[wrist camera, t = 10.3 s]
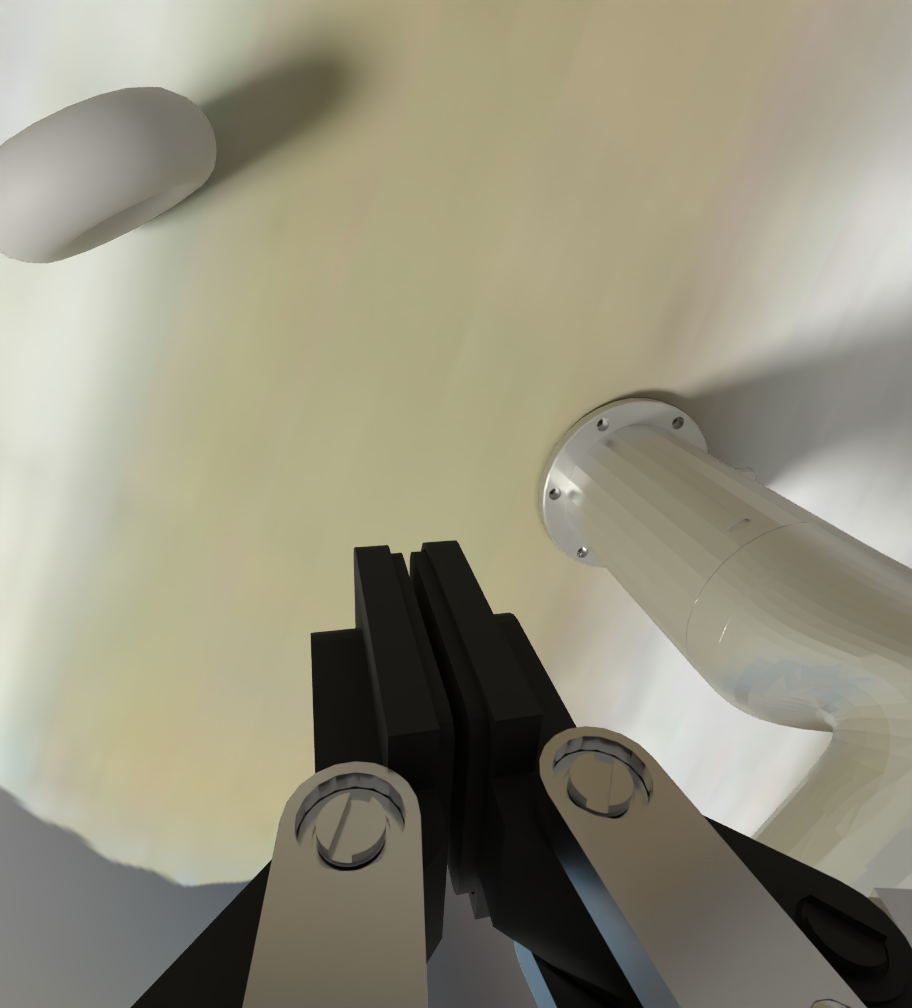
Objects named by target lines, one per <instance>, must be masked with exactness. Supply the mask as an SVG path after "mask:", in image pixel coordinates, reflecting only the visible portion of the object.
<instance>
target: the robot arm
mask: <svg viewBox="0 0 912 1008" xmlns="http://www.w3.org/2000/svg"><path fill="white" fill-rule="evenodd" d="M599 421H600V422H599ZM598 422H599V423H598ZM552 489H553V490H552ZM551 490H552V491H551ZM539 510H540V514H541V518H542V522H543V525H544V526H545V528H546V530H547V532H548V534H549V536H550V537H551V539H552V540H553V541H554V542H555V544H556V545H557V546H558V547H559V548H560V549H561V550H562V551H563V552H564V553H565V554H566V555H567V556H569V557H571V558H572V559H574V560H575V561H577V562H580V563H583V564H586V565H590V566H594V567H605V568H607V570H608V571H609V572H610V573H611V574H612V575H613V576H614V578H615V579H616V580H617V581H618V582H619V583H620V584H621V585H622V587H623V588H624V589H625V590H626V591H627V592H628V593H629V595H630V596H631V597H632V598H633V599H634V600H635V601H636V602H637V604H638V605H639V606H640V607H641V608H642V609H643V610H644V612H645V613H646V614H647V615H648V616H649V617H650V618H651V620H652V621H653V622H654V623H655V624H656V625H657V626H658V627H659V629H660V630H661V631H662V632H663V633H664V634H665V635H666V637H667V638H668V639H669V640H670V641H671V642H672V643H673V644H674V646H675V647H676V648H677V649H678V650H679V651H680V652H681V654H682V655H683V656H684V657H685V658H686V659H687V660H688V661H689V663H690V664H691V665H692V666H693V667H694V668H695V669H696V670H697V672H698V673H699V674H700V675H701V676H702V677H703V678H704V679H705V681H706V682H707V683H708V684H709V685H710V686H711V687H712V688H713V689H714V690H715V691H716V692H717V693H718V694H719V695H720V696H721V697H722V698H723V699H725V700H726V701H727V702H729V703H730V704H731V705H733V706H734V707H736V708H738V709H739V710H741V711H743V712H745V713H747V714H749V715H751V716H753V717H755V718H758V719H761V720H764V721H768V722H771V723H774V724H778V725H783V726H788V727H794V728H800V729H807V730H816V731H825V732H833V736H832V740H831V742H830V744H829V746H828V747H827V749H826V750H825V751H824V752H823V754H822V755H821V756H820V757H819V759H818V760H817V761H816V762H815V764H814V765H813V766H812V767H811V768H810V770H809V773H808V774H807V775H806V777H805V778H804V779H803V780H802V781H801V782H800V783H799V784H798V785H797V787H796V788H795V789H794V790H793V791H792V792H791V793H790V794H789V795H788V797H787V798H786V799H785V800H784V801H783V802H782V803H781V804H780V806H779V807H778V808H777V809H776V810H775V811H774V812H773V813H772V814H771V816H770V817H769V818H768V819H767V820H766V821H765V822H764V823H763V824H762V826H761V827H760V828H759V829H758V830H757V831H756V832H755V833H754V834H753V836H752V837H751V838H750V837H748V836H745V835H743V834H741V833H739V832H737V831H735V830H733V829H731V828H729V827H727V826H724V825H722V824H720V823H718V822H716V821H714V820H712V819H710V818H708V817H706V816H703V815H702V814H701V813H700V812H699V811H698V809H697V808H696V807H695V806H694V805H693V803H692V802H691V801H690V800H689V799H688V798H687V796H686V795H685V794H684V793H683V792H682V791H681V789H680V788H679V787H678V786H677V785H676V784H675V782H674V781H673V780H672V779H671V778H670V777H669V775H668V774H667V773H666V772H665V771H664V770H663V768H662V767H661V766H660V765H659V764H658V762H657V761H656V760H655V759H654V758H653V757H652V756H651V755H650V754H649V753H648V752H647V751H646V750H645V749H644V748H642V747H641V746H640V745H639V744H638V743H636V742H634V741H633V740H631V739H629V738H627V737H626V736H624V735H622V734H620V733H617V732H614V731H611V730H608V729H604V728H597V727H587V726H584V727H578V728H577V727H576V725H575V724H574V722H573V720H572V718H571V716H570V714H569V713H568V711H567V709H566V707H565V705H564V703H563V702H562V700H561V698H560V696H559V694H558V693H557V691H556V689H555V687H554V685H553V683H552V682H551V680H550V678H549V676H548V674H547V672H546V671H545V669H544V667H543V665H542V663H541V662H540V660H539V658H538V656H537V654H536V652H535V651H534V649H533V647H532V645H531V643H530V641H529V640H528V638H527V636H526V634H525V632H524V630H523V629H522V627H521V625H520V623H519V621H518V620H517V618H516V617H515V616H514V614H511V613H502V614H493V612H492V610H491V608H490V606H489V604H488V602H487V600H486V598H485V596H484V594H483V592H482V590H481V588H480V586H479V584H478V582H477V580H476V578H475V576H474V574H473V572H472V570H471V568H470V566H469V564H468V562H467V560H466V558H465V556H464V554H463V552H462V550H461V547H460V545H459V543H458V542H457V541H455V540H454V541H440V542H426V543H423V544H422V549H421V552H411V555H410V577H409V574H408V570H407V567H406V564H405V561H404V558H403V555H402V553H394V554H391V552H390V549H389V546H388V545H383V546H369V547H355V548H354V584H355V623H356V628H355V629H345V630H335V631H326V632H316V633H311V657H312V687H313V718H314V749H315V774H314V775H313V776H311V777H310V778H309V779H307V780H306V781H305V782H303V783H302V784H301V785H299V787H298V788H297V789H296V791H295V792H294V793H293V795H292V796H291V797H290V798H289V800H288V801H287V803H286V805H285V808H284V811H283V813H282V816H281V819H280V822H279V827H278V832H277V837H276V842H275V847H274V852H273V857H272V860H271V861H270V862H269V863H268V864H267V865H266V866H265V867H264V868H263V869H262V870H261V871H260V872H259V873H258V874H257V876H256V877H255V878H254V879H253V880H252V881H251V882H250V883H249V884H248V885H247V886H246V887H245V888H244V889H243V891H241V892H240V893H239V894H238V895H237V897H236V898H235V899H234V900H233V901H232V902H231V903H230V904H229V905H228V906H227V907H226V908H225V909H224V910H223V911H222V912H221V913H220V914H219V916H218V917H217V918H216V919H215V920H214V921H213V922H212V923H211V924H210V925H209V926H208V927H207V928H206V929H205V930H204V931H203V932H202V933H201V934H200V935H199V936H198V937H197V939H196V940H195V941H194V942H193V943H192V944H191V945H190V946H189V947H188V948H187V949H186V950H185V951H184V952H183V953H182V954H181V955H180V956H179V957H178V959H177V960H176V961H175V962H174V963H173V964H172V965H171V966H170V967H169V968H168V969H167V970H166V971H165V972H164V973H163V974H162V975H161V976H160V977H159V979H157V981H156V982H155V983H154V984H153V985H152V986H151V987H150V988H149V989H148V990H147V991H146V992H145V993H144V994H143V995H142V996H141V997H140V998H139V999H138V1001H137V1002H136V1003H135V1004H134V1005H133V1006H132V1007H131V1008H428V1002H427V1001H428V999H427V972H426V964H427V962H428V961H429V959H430V957H431V956H432V954H433V952H434V951H435V949H436V947H437V946H438V944H439V942H440V941H441V939H442V929H443V915H444V899H445V887H446V872H447V864H448V869H449V873H450V877H451V882H452V885H453V889H454V892H455V894H456V895H460V894H464V893H469V897H470V901H471V905H472V909H473V913H474V917H475V919H480V918H484V917H489V916H490V917H491V921H492V924H493V927H495V928H496V929H498V930H499V931H501V932H502V933H504V934H505V935H507V936H508V937H510V938H511V939H513V940H514V947H515V950H516V953H517V957H518V960H519V964H520V966H521V968H522V970H523V973H524V975H525V977H526V979H527V982H528V984H529V986H530V989H531V991H532V993H533V995H534V998H535V1000H536V1002H537V1004H538V1007H539V1008H912V569H911V568H909V567H907V566H905V565H903V564H902V563H900V562H898V561H896V560H894V559H892V558H890V557H888V556H886V555H884V554H883V553H881V552H879V551H877V550H875V549H874V548H872V547H870V546H868V545H866V544H865V543H863V542H861V541H859V540H858V539H856V538H854V537H852V536H851V535H849V534H847V533H845V532H844V531H842V530H840V529H838V528H837V527H835V526H833V525H831V524H830V523H828V522H826V521H825V520H823V519H821V518H819V517H818V516H816V515H814V514H812V513H811V512H809V511H807V510H805V509H804V508H802V507H800V506H798V505H797V504H795V503H793V502H791V501H790V500H788V499H786V498H785V497H783V496H781V495H779V494H778V493H776V492H774V491H772V490H771V489H769V488H767V487H765V486H764V485H762V484H760V483H758V482H757V481H756V475H755V471H754V470H753V469H752V468H732V467H731V466H729V465H727V464H725V463H724V462H722V461H720V460H718V459H717V458H715V457H713V456H711V455H710V454H709V451H708V447H707V444H706V441H705V437H704V436H703V434H702V432H701V430H700V429H699V427H698V425H697V424H696V423H695V422H694V421H693V420H692V419H691V418H690V417H689V416H688V415H687V414H686V413H684V412H682V411H681V410H679V409H677V408H676V407H674V406H672V405H669V404H667V403H665V402H663V401H659V400H654V399H649V398H629V399H624V400H620V401H615V402H612V403H610V404H607V405H605V406H602V407H600V408H598V409H596V410H594V411H593V412H591V413H590V414H588V415H586V416H585V417H583V418H582V419H581V420H579V421H578V422H577V423H576V424H575V425H574V426H573V427H572V428H570V429H569V430H568V431H567V432H566V434H565V435H564V436H563V437H562V439H561V440H560V441H559V442H558V444H557V445H556V446H555V448H554V450H553V452H552V453H551V455H550V457H549V459H548V461H547V463H546V466H545V469H544V471H543V474H542V477H541V483H540V489H539Z"/></svg>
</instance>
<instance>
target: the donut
mask: <svg viewBox="0 0 912 1008" xmlns="http://www.w3.org/2000/svg"><path fill="white" fill-rule="evenodd" d="M216 156H217V146H216V139H215V133H214V131H213V129H212V126H211V124H210V121H209V119H208V118H207V117H206V116H205V114H204V113H203V112H202V110H201V109H200V108H199V107H198V106H197V105H196V104H194V103H193V102H192V101H190V100H189V99H188V98H186V97H184V96H181V95H179V94H176V93H174V92H171V91H169V90H166V89H164V88H161V87H138V88H125V89H121V90H117V91H113V92H109V93H105V94H101V95H98V96H95V97H92V98H90V99H87V100H84V101H82V102H79V103H76V104H73V105H71V106H68V107H66V108H64V109H62V110H60V111H58V112H56V113H54V114H52V115H50V116H48V117H46V118H44V119H42V120H40V121H37V122H35V123H34V124H32V125H30V126H29V127H27V128H26V129H24V130H23V131H21V132H19V133H18V134H16V135H15V136H13V137H12V138H10V139H8V140H7V141H5V142H4V143H3V144H2V145H1V146H0V253H2V254H4V255H6V256H7V257H9V258H12V259H16V260H20V261H23V262H28V263H51V262H55V261H59V260H63V259H66V258H69V257H72V256H74V255H77V254H80V253H83V252H85V251H88V250H91V249H93V248H95V247H97V246H100V245H102V244H104V243H107V242H109V241H111V240H113V239H115V238H117V237H119V236H121V235H123V234H125V233H127V232H129V231H131V230H133V229H135V228H137V227H139V226H141V225H142V224H144V223H146V222H148V221H150V220H152V219H153V218H155V217H157V216H158V215H160V214H162V213H163V212H165V211H167V210H168V209H170V208H171V207H173V206H175V205H176V204H178V203H179V202H181V201H182V200H184V199H185V198H186V197H188V196H189V195H190V194H192V193H193V192H194V191H195V190H197V189H198V188H199V187H201V186H202V185H203V184H204V183H205V181H206V180H207V179H208V178H209V177H210V175H211V173H212V171H213V170H214V168H215V162H216Z"/></svg>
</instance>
